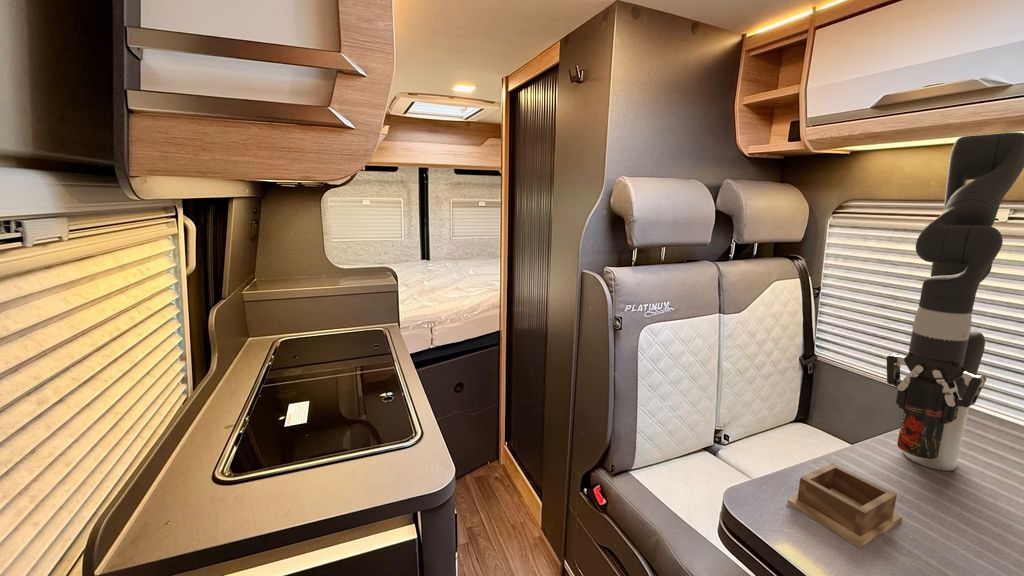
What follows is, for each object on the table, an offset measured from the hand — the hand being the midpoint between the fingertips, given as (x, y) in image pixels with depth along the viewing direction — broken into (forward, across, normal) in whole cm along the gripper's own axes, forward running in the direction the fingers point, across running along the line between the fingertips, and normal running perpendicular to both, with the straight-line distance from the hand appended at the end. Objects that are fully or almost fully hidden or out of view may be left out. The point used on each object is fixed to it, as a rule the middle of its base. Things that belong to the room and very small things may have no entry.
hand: (923, 414), depth 84 cm
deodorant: (+8, 0, 0) cm, 8 cm away
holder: (+21, +5, +13) cm, 25 cm away
